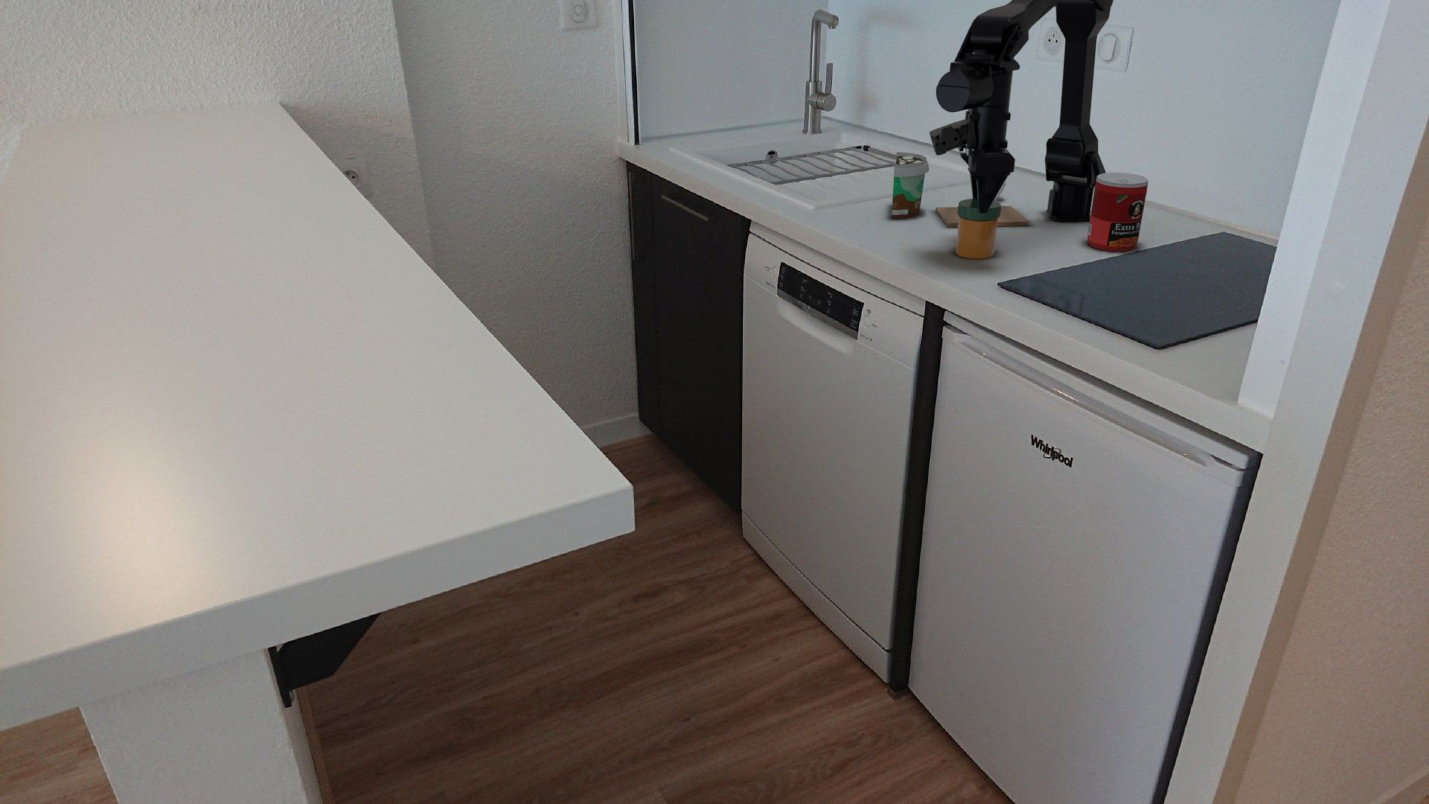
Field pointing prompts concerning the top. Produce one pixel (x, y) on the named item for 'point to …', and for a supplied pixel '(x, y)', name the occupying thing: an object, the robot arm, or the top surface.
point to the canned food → (1117, 211)
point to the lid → (971, 210)
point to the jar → (976, 238)
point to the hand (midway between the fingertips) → (979, 206)
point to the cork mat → (1006, 218)
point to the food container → (908, 184)
